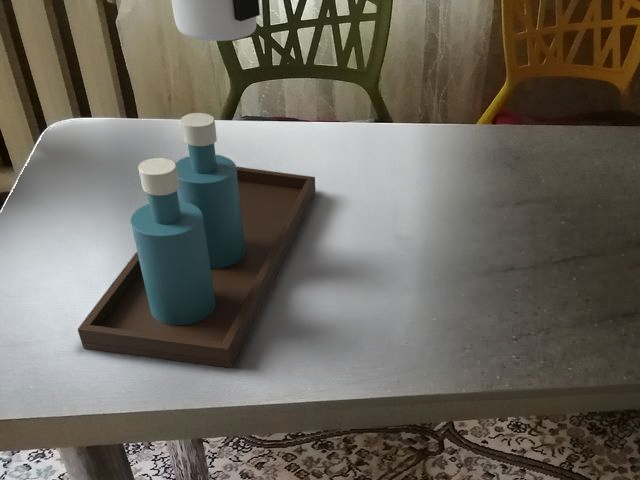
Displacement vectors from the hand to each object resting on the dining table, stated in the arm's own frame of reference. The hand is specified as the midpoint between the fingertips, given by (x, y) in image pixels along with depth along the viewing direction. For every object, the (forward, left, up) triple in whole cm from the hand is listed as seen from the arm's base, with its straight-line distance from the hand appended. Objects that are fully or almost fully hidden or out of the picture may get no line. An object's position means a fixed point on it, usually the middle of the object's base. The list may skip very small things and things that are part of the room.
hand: (214, 6), depth 74 cm
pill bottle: (0, 0, -2) cm, 2 cm away
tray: (+6, -10, -23) cm, 25 cm away
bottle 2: (+6, -10, -22) cm, 25 cm away
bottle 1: (+10, -18, -22) cm, 30 cm away
